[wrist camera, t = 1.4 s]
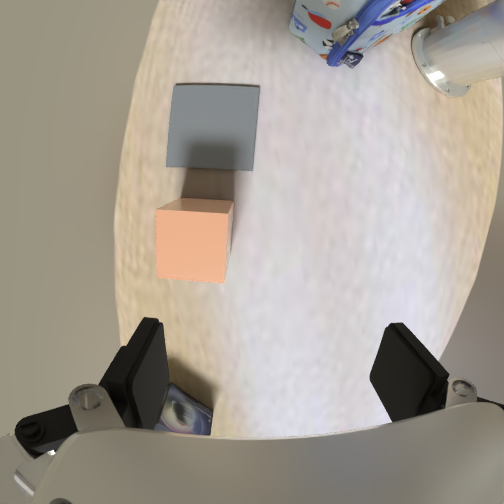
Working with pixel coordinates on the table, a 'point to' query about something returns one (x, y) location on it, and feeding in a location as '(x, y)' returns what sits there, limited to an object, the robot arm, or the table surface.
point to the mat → (212, 127)
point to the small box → (183, 414)
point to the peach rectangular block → (194, 239)
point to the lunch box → (353, 25)
